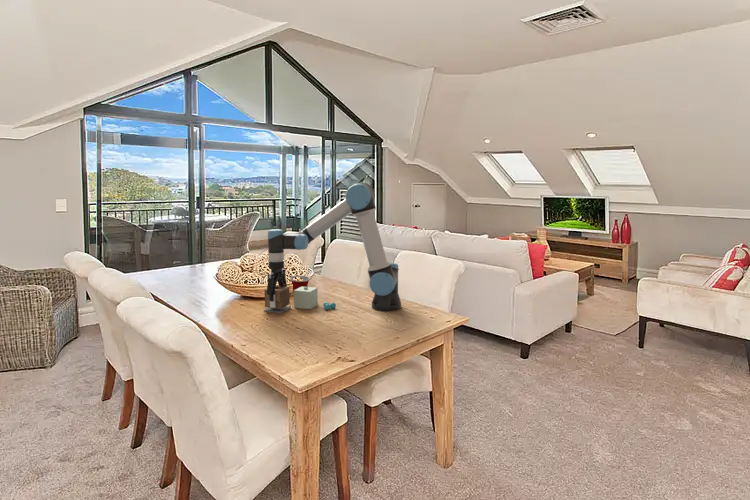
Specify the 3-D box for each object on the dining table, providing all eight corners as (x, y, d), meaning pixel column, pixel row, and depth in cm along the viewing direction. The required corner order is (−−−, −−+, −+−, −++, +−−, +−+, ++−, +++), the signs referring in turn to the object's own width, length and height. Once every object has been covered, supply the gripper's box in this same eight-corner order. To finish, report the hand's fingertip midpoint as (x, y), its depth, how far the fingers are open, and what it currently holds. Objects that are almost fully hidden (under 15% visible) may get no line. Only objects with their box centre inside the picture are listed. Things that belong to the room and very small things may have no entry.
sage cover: (317, 304, 248) (317, 285, 247) (310, 309, 240) (310, 289, 238) (301, 303, 251) (301, 284, 249) (294, 307, 242) (293, 288, 241)
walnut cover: (289, 304, 242) (289, 284, 240) (281, 308, 233) (280, 288, 232) (273, 302, 244) (273, 283, 243) (265, 307, 236) (264, 287, 234)
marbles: (336, 307, 242) (336, 302, 242) (332, 311, 237) (332, 305, 236) (304, 304, 247) (304, 299, 247) (299, 308, 242) (299, 302, 241)
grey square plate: (291, 307, 242) (291, 306, 242) (281, 313, 233) (281, 311, 233) (273, 305, 245) (273, 304, 245) (263, 311, 236) (263, 310, 236)
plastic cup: (296, 302, 252) (296, 280, 250) (286, 298, 260) (286, 277, 258) (314, 299, 258) (313, 277, 257) (304, 295, 267) (303, 274, 265)
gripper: (280, 256, 246) (281, 298, 250) (258, 264, 226) (259, 309, 229) (293, 257, 244) (294, 299, 248) (272, 265, 224) (273, 311, 227)
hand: (277, 304), depth 239 cm, fingers closed on walnut cover, 9 cm apart
